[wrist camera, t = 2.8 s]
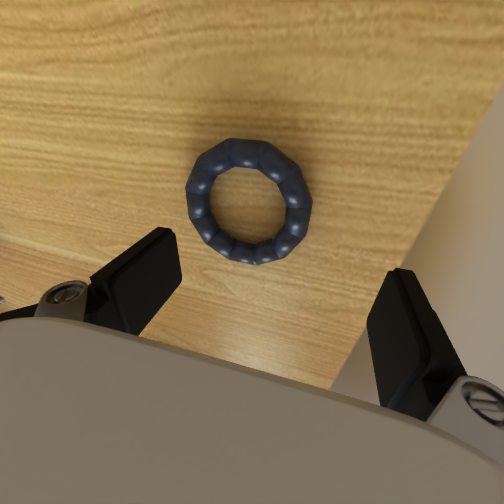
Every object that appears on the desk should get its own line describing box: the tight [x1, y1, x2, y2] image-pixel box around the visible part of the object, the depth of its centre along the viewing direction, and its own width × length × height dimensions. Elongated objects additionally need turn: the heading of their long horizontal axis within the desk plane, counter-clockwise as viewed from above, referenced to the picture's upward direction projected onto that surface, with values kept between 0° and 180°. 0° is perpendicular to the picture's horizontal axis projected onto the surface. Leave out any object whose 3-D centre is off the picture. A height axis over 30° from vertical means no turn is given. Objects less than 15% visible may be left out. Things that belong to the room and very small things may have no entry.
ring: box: [185, 138, 313, 265], centre depth 16 cm, size 9×9×2 cm
